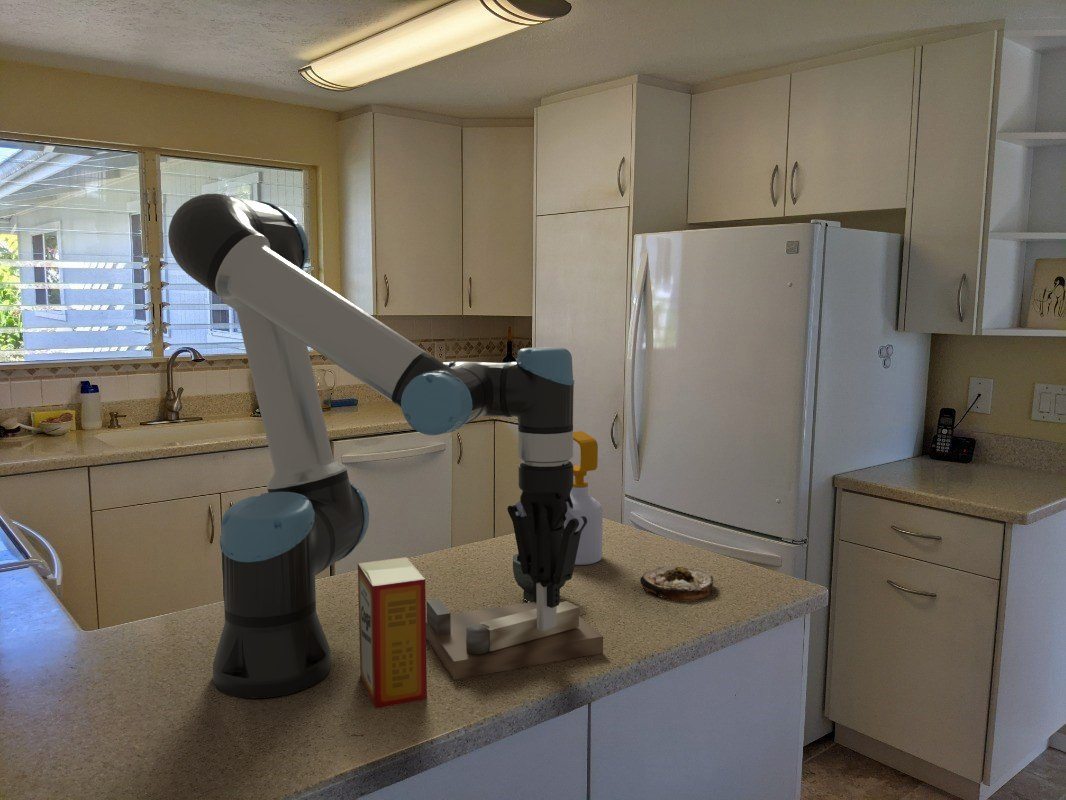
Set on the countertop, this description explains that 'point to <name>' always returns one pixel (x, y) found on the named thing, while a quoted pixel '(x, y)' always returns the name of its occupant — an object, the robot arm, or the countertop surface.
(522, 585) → the mortar and pestle
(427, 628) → the stool seat
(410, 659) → the baking soda box
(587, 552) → the soap bottle
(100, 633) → the countertop surface
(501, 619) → the hinged leg
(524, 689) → the countertop surface
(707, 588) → the sushi roll
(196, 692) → the countertop surface
